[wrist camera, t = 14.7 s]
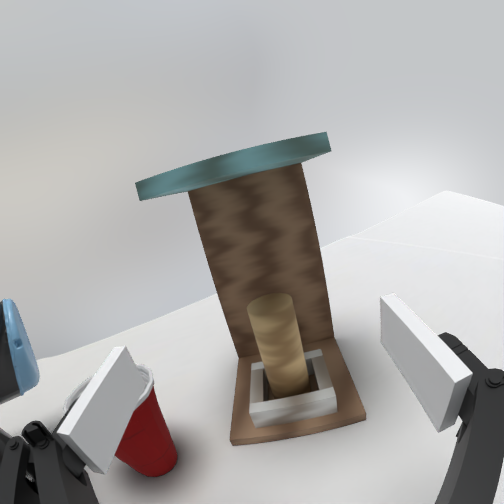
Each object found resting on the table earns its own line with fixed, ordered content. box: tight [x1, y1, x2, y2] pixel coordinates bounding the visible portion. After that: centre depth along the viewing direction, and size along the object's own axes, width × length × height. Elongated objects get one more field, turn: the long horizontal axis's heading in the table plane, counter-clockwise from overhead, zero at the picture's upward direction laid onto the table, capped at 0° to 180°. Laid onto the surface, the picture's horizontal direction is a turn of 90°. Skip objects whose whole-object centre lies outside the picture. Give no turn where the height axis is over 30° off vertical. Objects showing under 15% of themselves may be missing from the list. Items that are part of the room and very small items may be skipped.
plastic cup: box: [63, 364, 178, 477], centre depth 23 cm, size 11×11×12 cm
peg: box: [247, 293, 311, 400], centre depth 29 cm, size 5×5×13 cm
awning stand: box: [135, 132, 366, 446], centre depth 31 cm, size 15×18×28 cm
